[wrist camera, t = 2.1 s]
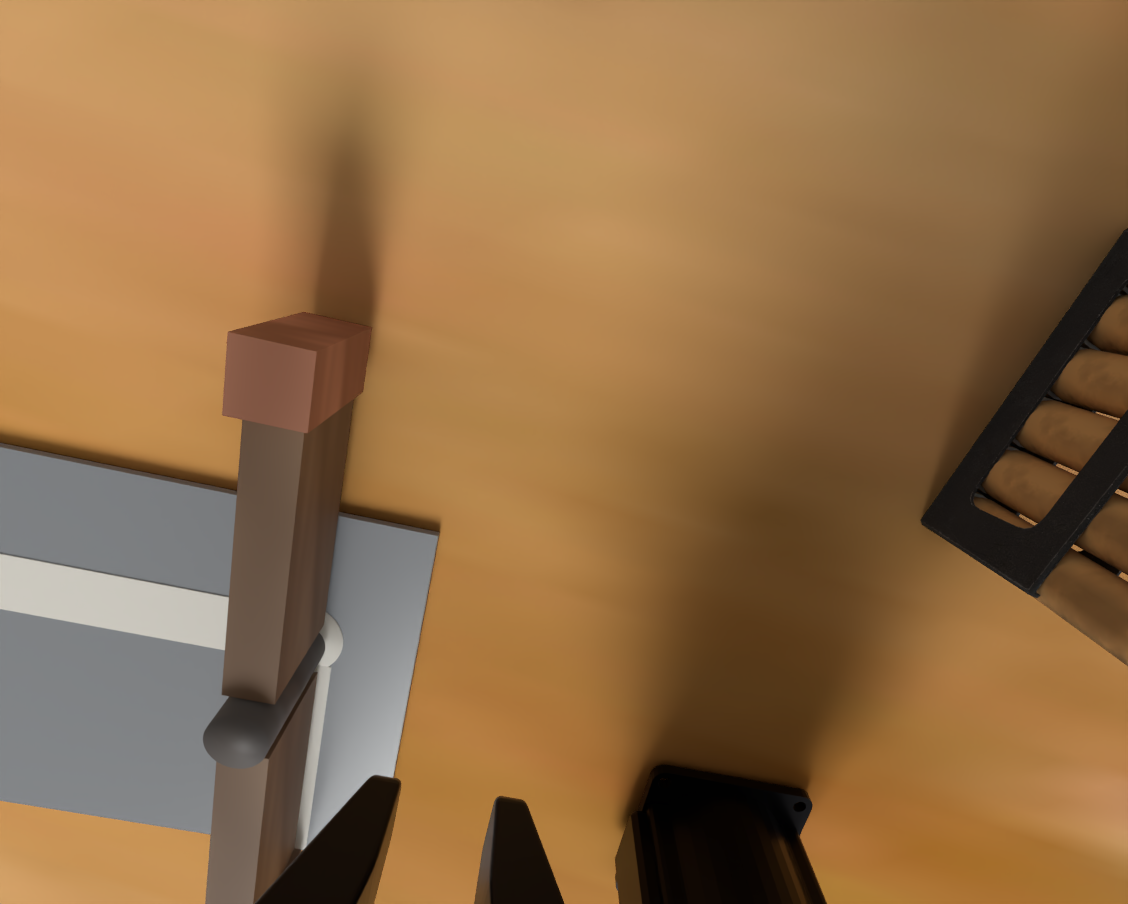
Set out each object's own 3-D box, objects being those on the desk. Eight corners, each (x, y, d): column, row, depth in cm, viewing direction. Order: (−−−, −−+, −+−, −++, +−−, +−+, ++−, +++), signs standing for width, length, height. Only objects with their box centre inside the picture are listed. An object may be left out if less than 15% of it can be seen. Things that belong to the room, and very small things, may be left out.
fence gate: (371, 327, 19) (316, 351, 14) (331, 626, 22) (276, 718, 18) (304, 311, 19) (227, 331, 14) (273, 615, 22) (202, 705, 17)
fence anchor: (330, 628, 22) (274, 724, 18) (295, 885, 26) (242, 1016, 21) (272, 617, 22) (200, 711, 17) (246, 877, 25) (181, 1008, 21)
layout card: (439, 532, 22) (437, 536, 21) (379, 854, 26) (377, 862, 26) (-53, 432, 20) (-63, 434, 20) (-27, 788, 25) (-34, 795, 24)
